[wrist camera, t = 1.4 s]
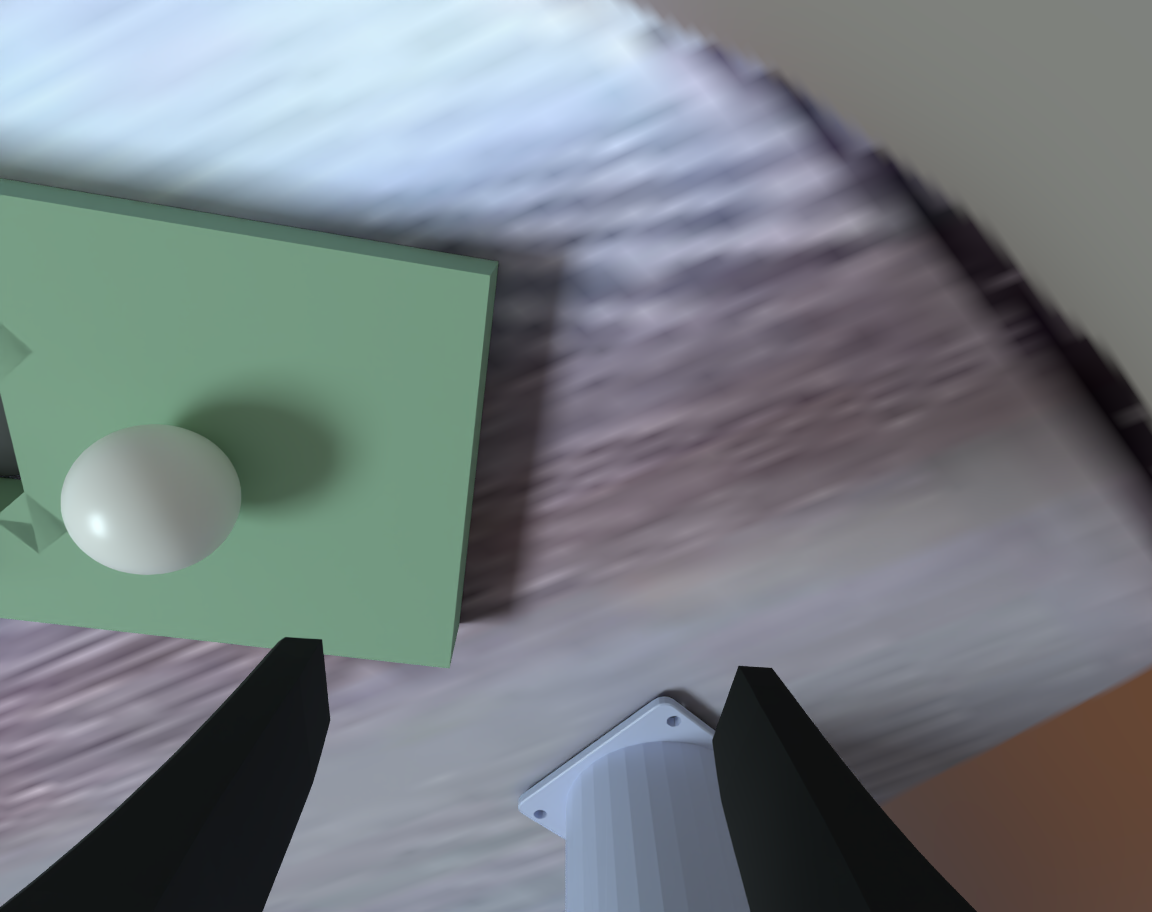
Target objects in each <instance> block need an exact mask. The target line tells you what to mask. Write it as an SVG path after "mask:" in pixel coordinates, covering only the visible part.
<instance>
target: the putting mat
mask: <svg viewBox="0 0 1152 912" xmlns="http://www.w3.org/2000/svg"><path fill="white" fill-rule="evenodd" d="M498 263H499V262H498V261H492V260H486V259H480V258H474V257H468V256H462V255H456V254H450V253H444V252H438V251H432V250H427V249H421V248H415V247H409V246H403V245H397V244H391V243H385V242H379V241H373V240H367V239H361V238H355V237H349V236H343V235H337V234H331V233H325V232H319V231H313V230H307V229H301V228H295V227H289V226H283V225H277V224H271V223H265V222H259V221H253V220H247V219H241V218H235V217H229V216H223V215H217V214H211V213H205V212H199V211H193V210H187V209H181V208H175V207H169V206H164V205H158V204H152V203H146V202H140V201H134V200H128V199H122V198H116V197H110V196H104V195H98V194H92V193H86V192H80V191H74V190H68V189H62V188H56V187H50V186H44V185H38V184H32V183H26V182H20V181H14V180H8V179H2V178H0V476H12V475H18V474H20V476H21V480H18V479H10V478H2V477H0V618H6V619H15V620H24V621H33V622H42V623H51V624H60V625H69V626H78V627H86V628H95V629H104V630H113V631H122V632H131V633H140V634H149V635H158V636H166V637H175V638H184V639H193V640H202V641H211V642H220V643H229V644H237V645H246V646H255V647H264V648H273V647H274V646H275V645H276V644H277V643H278V641H280V640H281V639H283V638H284V637H294V638H309V639H322V643H323V653H324V654H326V655H335V656H344V657H353V658H362V659H371V660H380V661H389V662H397V663H406V664H415V665H424V666H433V667H442V668H450V663H451V659H452V654H453V650H454V645H455V641H456V637H457V632H458V628H459V622H460V613H461V604H462V594H463V585H464V576H465V567H466V558H467V548H468V539H469V530H470V521H471V512H472V502H473V493H474V484H475V475H476V466H477V456H478V447H479V438H480V429H481V420H482V410H483V401H484V392H485V383H486V374H487V364H488V355H489V346H490V337H491V328H492V318H493V309H494V300H495V291H496V282H497V273H498ZM147 424H162V425H171V426H177V427H181V428H184V429H187V430H190V431H193V432H195V433H197V434H199V435H201V436H203V437H205V438H207V439H208V440H210V441H211V442H213V443H214V444H215V445H216V446H218V447H219V448H220V449H221V450H222V451H223V452H224V453H225V455H226V456H227V457H228V458H229V460H230V461H231V463H232V464H233V466H234V468H235V470H236V473H237V475H238V478H239V481H240V486H241V507H240V512H239V515H238V519H237V521H236V523H235V525H234V527H233V529H232V531H231V533H230V534H229V535H228V537H227V538H226V540H225V541H224V542H223V543H222V544H221V545H220V546H219V547H218V548H217V549H216V550H215V551H214V552H213V553H212V554H210V555H209V556H207V557H206V558H204V559H203V560H201V561H200V562H198V563H196V564H193V565H191V566H189V567H187V568H184V569H181V570H178V571H174V572H170V573H165V574H154V575H139V574H131V573H125V572H121V571H117V570H114V569H111V568H109V567H107V566H104V565H102V564H101V563H99V562H97V561H95V560H94V559H92V558H91V557H89V556H88V555H87V554H86V553H84V552H83V551H82V550H81V549H80V548H79V547H78V546H77V545H76V543H75V542H74V541H73V540H72V538H71V537H70V535H69V533H68V531H67V529H66V527H65V524H64V521H63V518H62V513H61V491H62V487H63V483H64V480H65V478H66V475H67V473H68V472H69V470H70V468H71V466H72V465H73V463H74V462H75V461H76V459H77V458H78V457H79V456H80V455H81V454H82V453H83V451H84V450H86V449H87V448H88V447H89V446H91V445H92V444H93V443H95V442H96V441H97V440H99V439H101V438H103V437H104V436H106V435H108V434H110V433H112V432H115V431H118V430H121V429H124V428H127V427H132V426H137V425H147Z"/></svg>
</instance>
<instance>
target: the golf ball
mask: <svg viewBox="0 0 1152 912" xmlns="http://www.w3.org/2000/svg"><path fill="white" fill-rule="evenodd" d="M240 507H241V486H240V481H239V478H238V475H237V473H236V470H235V468H234V466H233V464H232V463H231V461H230V460H229V458H228V457H227V456H226V455H225V453H224V452H223V451H222V450H221V449H220V448H219V447H218V446H216V445H215V444H214V443H213V442H211V441H210V440H208V439H207V438H205V437H203V436H201V435H199V434H197V433H195V432H193V431H190V430H187V429H184V428H181V427H177V426H171V425H162V424H147V425H137V426H132V427H127V428H124V429H121V430H118V431H115V432H112V433H110V434H108V435H106V436H104V437H103V438H101V439H99V440H97V441H96V442H95V443H93V444H92V445H91V446H89V447H88V448H87V449H86V450H84V451H83V453H82V454H81V455H80V456H79V457H78V458H77V459H76V461H75V462H74V463H73V465H72V466H71V468H70V470H69V472H68V473H67V475H66V478H65V480H64V483H63V487H62V491H61V513H62V518H63V521H64V524H65V527H66V529H67V531H68V533H69V535H70V537H71V538H72V540H73V541H74V542H75V543H76V545H77V546H78V547H79V548H80V549H81V550H82V551H83V552H84V553H86V554H87V555H88V556H89V557H91V558H92V559H94V560H95V561H97V562H99V563H101V564H102V565H104V566H107V567H109V568H111V569H114V570H117V571H121V572H125V573H131V574H139V575H154V574H165V573H170V572H174V571H178V570H181V569H184V568H187V567H189V566H191V565H193V564H196V563H198V562H200V561H201V560H203V559H204V558H206V557H207V556H209V555H210V554H212V553H213V552H214V551H215V550H216V549H217V548H218V547H219V546H220V545H221V544H222V543H223V542H224V541H225V540H226V538H227V537H228V535H229V534H230V533H231V531H232V529H233V527H234V525H235V523H236V521H237V519H238V515H239V512H240Z"/></svg>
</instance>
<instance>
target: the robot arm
mask: <svg viewBox="0 0 1152 912" xmlns="http://www.w3.org/2000/svg"><path fill="white" fill-rule="evenodd" d="M672 716H676V717H674V718H670V717H672ZM329 723H330V713H329V703H328V693H327V683H326V673H325V663H324V653H323V643H322V639H309V638H294V637H284V638H283V639H281V640H280V641H278V643H277V644H276V645H275V646H274V647H273V648H272V649H271V651H270V652H269V653H268V654H267V655H266V656H265V657H264V659H263V660H262V661H261V662H260V663H259V664H258V665H257V667H256V668H255V669H254V670H253V671H252V672H251V673H250V674H249V676H248V677H247V678H246V679H245V680H244V681H243V682H242V683H241V684H240V685H239V687H238V688H237V689H236V690H235V691H234V692H233V693H232V694H231V695H230V696H229V697H228V698H227V700H226V701H225V702H224V703H223V704H222V705H221V706H220V707H219V708H218V709H217V710H216V711H215V712H214V713H213V714H212V715H211V717H210V718H209V719H208V720H207V721H206V722H205V723H204V724H203V725H202V726H201V727H200V728H199V729H198V730H197V731H196V732H195V733H194V734H193V735H192V736H191V737H190V738H189V739H188V740H187V741H186V742H185V743H184V744H183V745H182V746H181V747H180V748H179V749H178V750H177V751H176V752H175V753H174V754H173V755H172V756H171V757H170V758H169V759H168V760H167V761H166V762H165V763H164V764H163V765H162V766H161V767H160V768H159V769H158V770H157V771H156V772H155V773H154V774H153V775H152V776H151V777H150V778H148V779H147V780H146V781H145V782H144V783H143V784H142V785H141V786H140V787H139V788H138V789H137V790H136V791H135V792H134V793H133V794H132V795H131V796H130V797H129V798H127V799H126V800H125V801H124V802H123V803H122V804H121V805H120V806H119V807H118V808H117V809H116V810H115V811H114V812H112V813H111V814H110V815H109V816H108V817H107V818H106V819H105V820H104V821H102V822H101V823H100V824H99V825H98V826H97V827H96V828H95V829H93V830H92V831H91V832H90V833H89V834H88V835H87V836H86V837H84V838H83V839H82V840H81V841H80V842H79V843H78V844H76V845H75V846H74V847H73V848H72V849H70V850H69V851H68V852H67V853H66V854H65V855H63V856H62V857H61V858H60V859H59V860H58V861H56V862H55V863H54V864H53V865H52V866H50V867H49V868H48V869H47V870H46V871H45V872H43V873H42V874H41V875H40V876H39V877H37V878H36V879H35V880H34V881H32V882H31V883H30V884H29V885H27V886H26V887H25V888H24V889H22V890H21V891H20V892H19V893H17V894H16V895H15V896H14V897H12V898H11V899H10V900H9V901H7V902H6V903H5V904H4V905H2V906H1V907H0V912H262V911H263V909H264V906H265V904H266V901H267V899H268V896H269V893H270V891H271V888H272V886H273V883H274V881H275V878H276V876H277V873H278V871H279V868H280V866H281V863H282V861H283V858H284V856H285V853H286V851H287V848H288V846H289V843H290V841H291V838H292V835H293V833H294V830H295V828H296V825H297V823H298V820H299V818H300V815H301V812H302V810H303V807H304V805H305V802H306V800H307V797H308V794H309V792H310V789H311V787H312V784H313V781H314V777H315V774H316V770H317V767H318V763H319V760H320V756H321V753H322V749H323V745H324V742H325V738H326V734H327V730H328V727H329ZM518 809H519V811H520V812H521V813H522V814H524V815H525V816H527V817H529V818H530V819H532V820H534V821H535V822H537V823H539V824H540V825H542V826H544V827H545V828H547V829H549V830H550V831H552V832H554V833H555V834H557V835H559V836H560V837H562V838H563V839H565V840H566V912H977V911H976V910H975V909H974V908H973V907H972V906H971V905H970V904H969V903H968V902H967V901H966V900H965V899H964V898H963V897H962V896H961V895H960V894H959V893H958V892H957V891H956V890H955V889H954V888H953V887H952V886H951V885H950V884H949V883H948V882H947V881H946V880H945V879H944V878H943V877H942V876H941V875H940V873H939V872H938V871H937V870H936V869H935V868H934V867H933V866H932V865H931V864H930V863H929V862H928V861H927V860H926V859H925V857H924V856H923V855H922V854H921V853H920V852H919V851H918V850H917V849H916V848H915V847H914V845H913V844H912V843H911V842H910V841H909V840H908V839H907V838H906V836H905V835H904V834H903V833H902V832H901V831H900V829H899V828H898V827H897V826H896V825H895V824H894V823H893V822H892V820H891V819H890V818H889V817H888V816H887V815H886V813H885V812H884V811H883V810H882V809H881V807H880V806H879V805H878V804H877V803H876V801H875V800H874V799H873V798H872V797H871V795H870V794H869V793H868V792H867V791H866V789H865V788H864V787H863V786H862V784H861V783H860V782H859V781H858V779H857V778H856V777H855V776H854V774H853V773H852V772H851V771H850V769H849V768H848V767H847V766H846V764H845V763H844V762H843V761H842V759H841V758H840V757H839V756H838V754H837V753H836V752H835V751H834V749H833V748H832V747H831V745H830V744H829V743H828V742H827V740H826V739H825V738H824V736H823V735H822V734H821V732H820V731H819V730H818V728H817V727H816V726H815V724H814V723H813V722H812V721H811V719H810V718H809V717H808V715H807V714H806V713H805V711H804V710H803V709H802V707H801V706H800V705H799V703H798V702H797V701H796V699H795V698H794V697H793V695H792V694H791V693H790V691H789V690H788V689H787V687H786V686H785V685H784V683H783V682H782V681H781V679H780V678H779V677H778V675H777V674H776V673H775V671H774V670H773V669H772V668H764V667H748V666H738V669H737V672H736V675H735V678H734V680H733V683H732V686H731V689H730V692H729V694H728V697H727V700H726V703H725V706H724V708H723V711H722V714H721V717H720V720H719V722H718V725H717V728H716V731H715V730H713V729H712V728H711V727H709V726H708V725H707V724H705V723H704V722H703V721H702V720H700V719H699V718H698V717H696V716H695V715H694V714H692V713H691V712H690V711H688V710H687V709H686V708H684V707H683V706H682V705H680V704H679V703H678V702H676V701H675V700H674V699H672V698H670V697H664V696H663V697H658V698H656V699H654V700H653V701H651V702H650V703H648V704H647V705H646V706H644V707H643V708H641V709H640V710H639V711H637V712H636V713H635V714H633V715H632V716H630V717H629V718H628V719H626V720H625V721H623V722H622V723H621V724H619V725H618V726H616V727H615V728H614V729H612V730H611V731H610V732H608V733H607V734H605V735H604V736H603V737H601V738H600V739H598V740H597V741H596V742H594V743H593V744H591V745H590V746H589V747H587V748H586V749H585V750H583V751H582V752H580V753H579V754H578V755H576V756H575V757H573V758H572V759H571V760H569V761H568V762H566V763H565V764H564V765H562V766H561V767H560V768H558V769H557V770H555V771H554V772H553V773H551V774H550V775H548V776H547V777H546V778H544V779H543V780H541V781H540V782H539V783H537V784H536V785H535V786H533V787H532V788H530V789H529V790H528V791H526V792H525V793H523V794H522V795H521V796H520V797H519V803H518Z"/></svg>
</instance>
